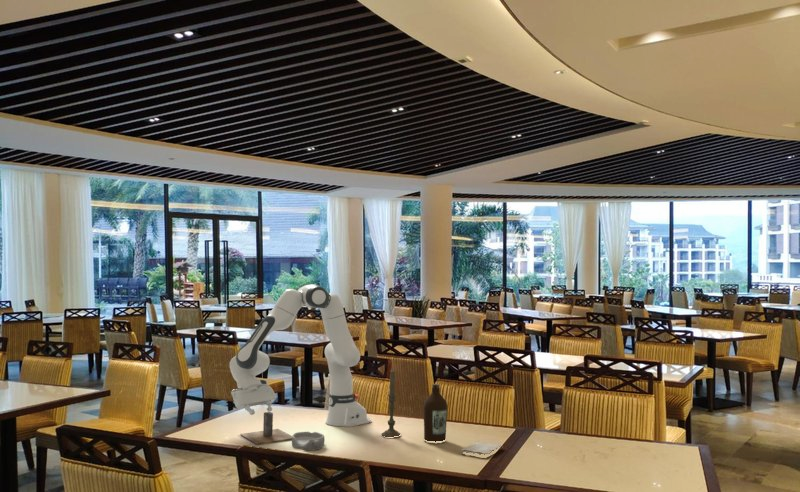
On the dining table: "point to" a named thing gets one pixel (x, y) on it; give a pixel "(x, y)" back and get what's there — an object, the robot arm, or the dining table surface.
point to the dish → (308, 440)
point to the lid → (267, 433)
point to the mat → (260, 445)
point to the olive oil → (435, 416)
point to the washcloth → (480, 448)
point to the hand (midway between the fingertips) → (261, 412)
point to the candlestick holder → (391, 408)
